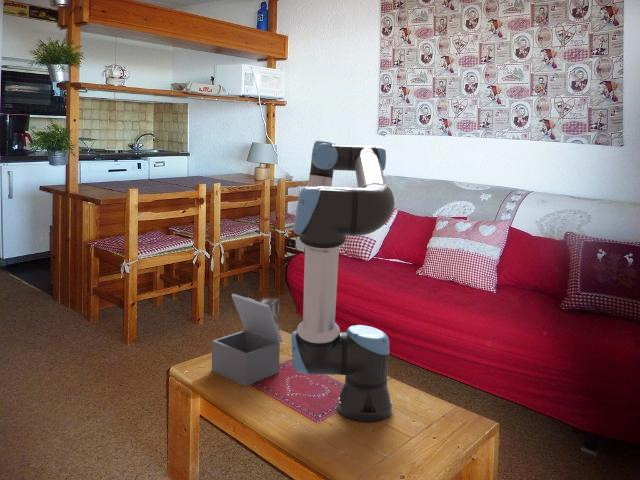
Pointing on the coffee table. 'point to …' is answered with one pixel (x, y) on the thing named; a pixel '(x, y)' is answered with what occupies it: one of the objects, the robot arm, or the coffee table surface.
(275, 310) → the coffee box
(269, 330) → the lid
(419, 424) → the coffee table surface
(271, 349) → the block
